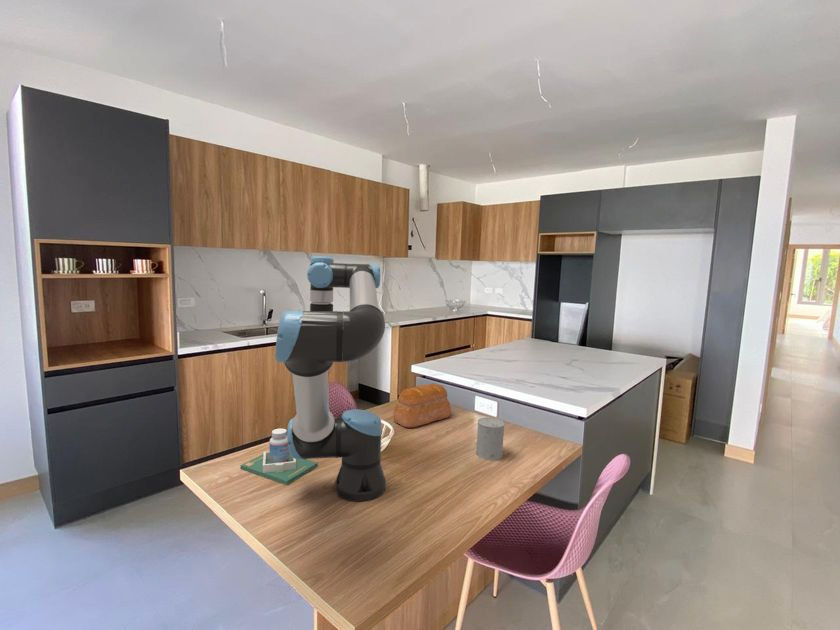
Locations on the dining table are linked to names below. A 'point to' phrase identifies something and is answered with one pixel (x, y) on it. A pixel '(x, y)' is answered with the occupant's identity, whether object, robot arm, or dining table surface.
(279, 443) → the pill bottle
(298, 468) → the board
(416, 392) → the bread
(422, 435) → the dining table surface
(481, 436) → the grey concrete cylinder
